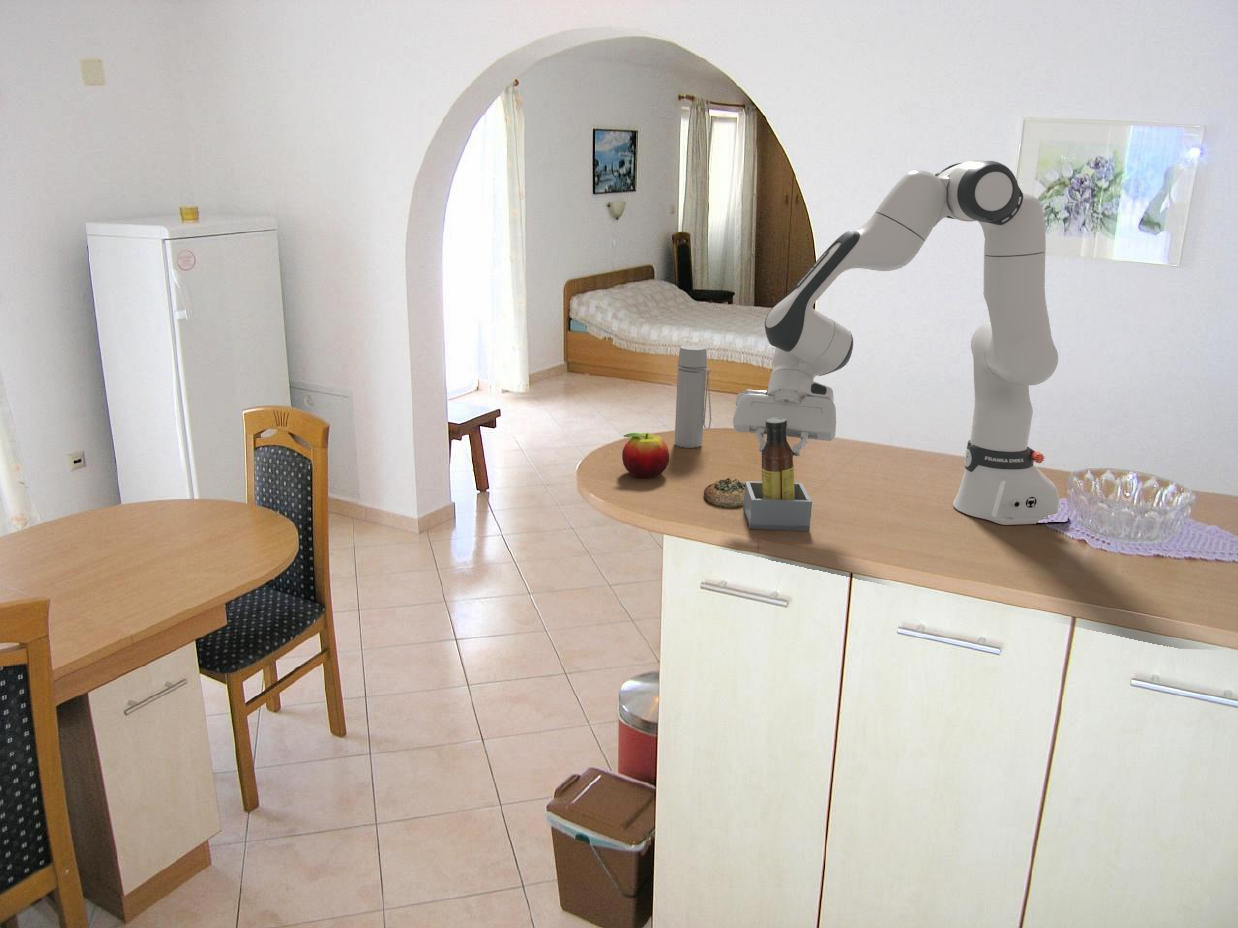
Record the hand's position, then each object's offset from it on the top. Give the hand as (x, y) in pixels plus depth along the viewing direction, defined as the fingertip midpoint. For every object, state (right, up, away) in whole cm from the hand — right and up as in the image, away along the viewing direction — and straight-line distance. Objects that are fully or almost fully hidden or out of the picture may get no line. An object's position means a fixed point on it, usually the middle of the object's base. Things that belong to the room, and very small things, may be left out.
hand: (779, 452), depth 186 cm
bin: (0, -13, +5) cm, 14 cm away
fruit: (-26, -5, +31) cm, 40 cm away
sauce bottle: (0, -13, +4) cm, 13 cm away
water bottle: (-13, +2, +55) cm, 56 cm away
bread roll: (-8, -10, +16) cm, 21 cm away
